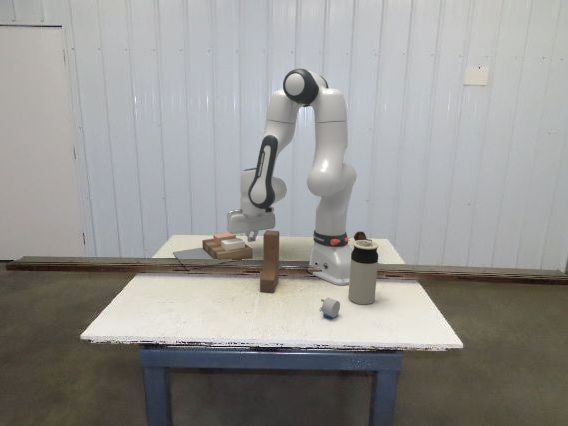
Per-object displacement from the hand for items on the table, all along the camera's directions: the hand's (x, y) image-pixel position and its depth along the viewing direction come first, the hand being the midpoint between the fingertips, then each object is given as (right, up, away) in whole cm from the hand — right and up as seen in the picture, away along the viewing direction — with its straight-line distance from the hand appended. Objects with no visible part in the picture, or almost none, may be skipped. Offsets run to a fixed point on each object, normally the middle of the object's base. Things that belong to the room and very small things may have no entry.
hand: (251, 241), depth 150 cm
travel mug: (+37, -15, -36) cm, 54 cm away
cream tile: (-7, -2, -4) cm, 8 cm away
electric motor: (+26, -17, -46) cm, 55 cm away
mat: (-22, -6, -6) cm, 23 cm away
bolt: (+49, -4, +12) cm, 50 cm away
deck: (-10, -5, 0) cm, 11 cm away
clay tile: (-12, 0, +4) cm, 12 cm away
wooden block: (+8, -13, -29) cm, 33 cm away
